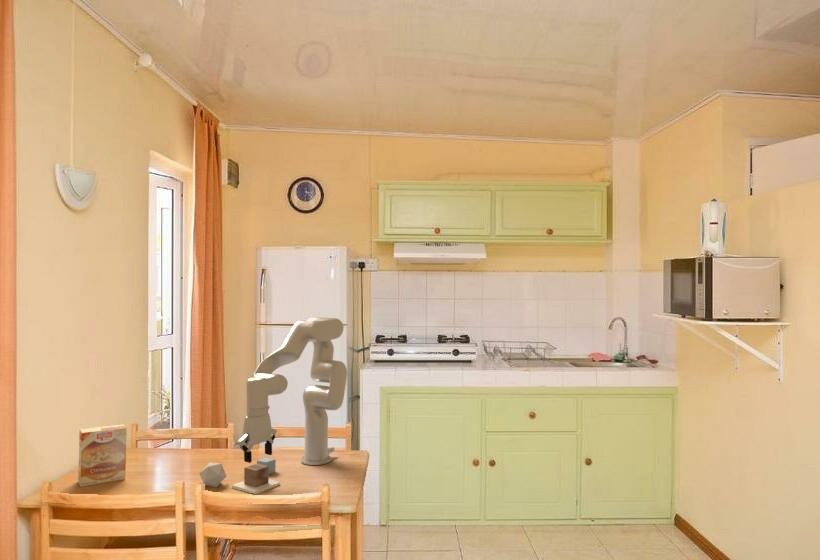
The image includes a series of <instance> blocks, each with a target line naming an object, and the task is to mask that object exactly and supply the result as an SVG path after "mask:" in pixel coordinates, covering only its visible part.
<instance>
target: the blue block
mask: <svg viewBox="0 0 820 560" xmlns="http://www.w3.org/2000/svg"><path fill="white" fill-rule="evenodd" d="M276 462H277V461H276V458H271V457H267V456H266V457H264V458H259V459H257V460H256V464H261V465H265V466H269V474H268V475H270V474H273V473H276Z"/></svg>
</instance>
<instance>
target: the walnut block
mask: <svg viewBox="0 0 820 560" xmlns="http://www.w3.org/2000/svg"><path fill="white" fill-rule="evenodd" d="M243 475H244V477H243V479H244V480H243V481H244V484H245V485H248V486H252V487H255V488H256V487H259V486H261V485H264V484H267V483H268V479H269V475H270V474H269V466H265V465H261V464H257V463H255V464H250V465H248V466H246V467H244V472H243Z"/></svg>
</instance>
